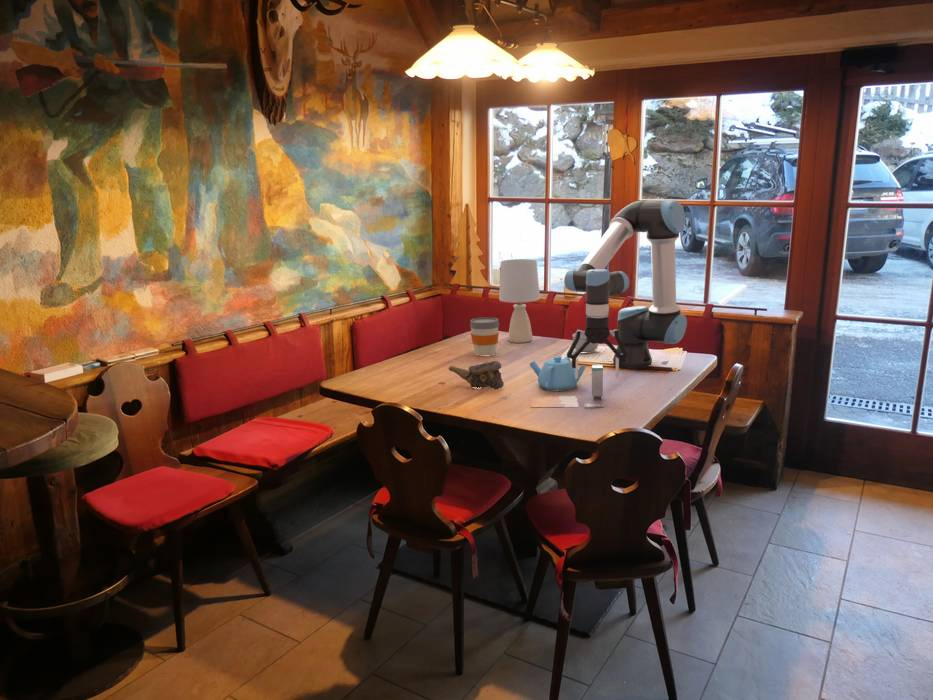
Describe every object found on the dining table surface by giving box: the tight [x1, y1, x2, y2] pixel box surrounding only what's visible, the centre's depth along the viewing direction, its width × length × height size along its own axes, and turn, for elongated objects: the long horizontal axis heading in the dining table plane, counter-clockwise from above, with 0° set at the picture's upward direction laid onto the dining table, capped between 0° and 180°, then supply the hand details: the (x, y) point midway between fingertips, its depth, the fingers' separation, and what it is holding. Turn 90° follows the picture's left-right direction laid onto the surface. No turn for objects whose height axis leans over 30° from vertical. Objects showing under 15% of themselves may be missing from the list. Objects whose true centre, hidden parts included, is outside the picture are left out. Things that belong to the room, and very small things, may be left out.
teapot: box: [529, 355, 587, 392], centre depth 277 cm, size 15×17×11 cm
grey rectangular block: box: [591, 364, 604, 401], centre depth 259 cm, size 4×4×12 cm
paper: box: [558, 395, 579, 408], centre depth 259 cm, size 16×12×1 cm
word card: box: [583, 402, 604, 409], centre depth 253 cm, size 6×4×1 cm, turn 86°
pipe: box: [448, 360, 504, 390], centre depth 280 cm, size 9×22×10 cm, turn 73°
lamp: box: [498, 258, 541, 344], centre depth 350 cm, size 19×19×37 cm
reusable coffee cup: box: [469, 317, 500, 356], centre depth 329 cm, size 13×13×15 cm
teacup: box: [572, 332, 599, 353], centre depth 328 cm, size 14×11×8 cm
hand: (596, 377), depth 259 cm, fingers open, 13 cm apart
